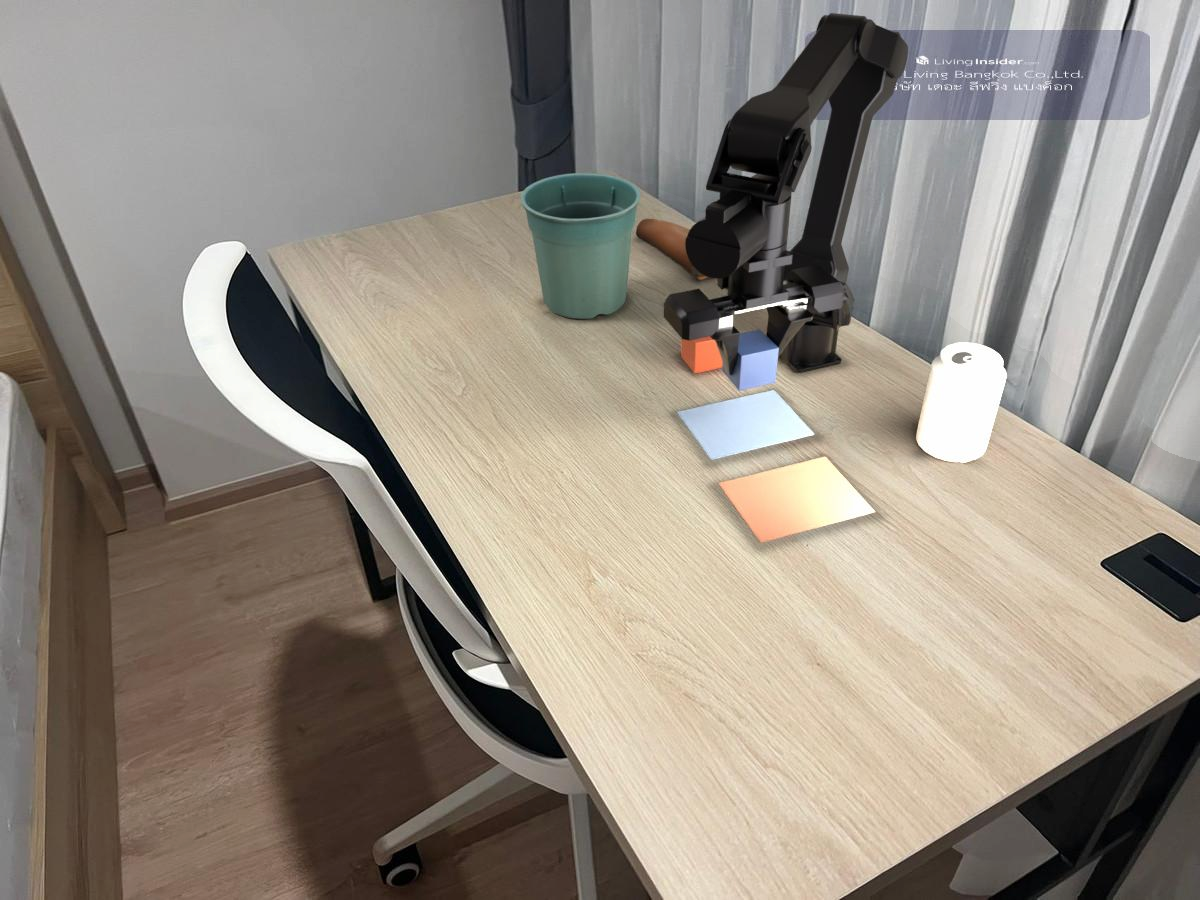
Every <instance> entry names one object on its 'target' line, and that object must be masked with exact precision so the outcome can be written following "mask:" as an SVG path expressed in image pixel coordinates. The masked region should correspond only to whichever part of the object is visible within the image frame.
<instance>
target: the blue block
mask: <svg viewBox="0 0 1200 900" xmlns="http://www.w3.org/2000/svg"><path fill="white" fill-rule="evenodd" d="M778 351H779V348H778V347H777V346H776V345H775V344H774V343H773V342H772V341H771V340H770V339H769V338H768V337H767V336H766V334H765V332H764V331H763V330H762V329H760V328H759V329H753V330H749V331H744V332H740V338H739V345H738V352H737V359H736V366H735V369H734V373H733V375H731V376H729V375H728V373H727V372H726V370H725V367H724V365H723V362H722V368H721V371H722V373H723V375H725V376H726V378H727V379H728V380H729V381H730V382H731V384H733V386H734V387H735V388H736V390H738V391H739V392H741V391H745V390H749V389H753V388H758V387H762V386H767V385H771V384H775V383H777V371H778V360H779V357H778Z"/></svg>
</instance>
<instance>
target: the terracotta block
mask: <svg viewBox="0 0 1200 900" xmlns="http://www.w3.org/2000/svg"><path fill="white" fill-rule="evenodd" d="M680 340H681V341H680V357H681V359H682V360H683V361H684V363H685V364H686V365H687V366H688V367H689V369H690V370H691V371H692V372H693V373H694V374H700V373H705V372H708V371H712V370H713V371H714V370H719V369H722V359H721V356H720V353H719V350H718V347H717V344H716V342H715V340H713V339H712V338H711V337H710V336H708V337H704V338H699V339H694V340H684V339H682V338H681V337H680Z"/></svg>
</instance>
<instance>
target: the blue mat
mask: <svg viewBox="0 0 1200 900" xmlns="http://www.w3.org/2000/svg"><path fill="white" fill-rule="evenodd" d="M676 414H677V415H678V416H679V418H680V419H681V420H682V422H683V423H684V425H685V426H686V427H687V429H688V430H689V431H690V433H691V435H692V436H693V437H694V439H695V440H696V441H697V442H698V444H699V446H701V448H702V450H703V451H704V452H705V454H706V455H707V456H708V458H709V459H710V460H711V461H712V460H716V459H721V458H725V457H729V456H733V455H736V454H740V453H741V454H742V453H745V452H750V451H752V450H757V449H761V448H765V447H770V446H773V445H778V444H782V443H785V442H786V443H787V442H790V441H795V440H798V439H802V438H806V437H807V438H808V437H811V436H814V435H816V434H815V433H814V431H813V430H812V429H811V428H810V426H808V425H807V424H806V423H805V422H804V420H803V419H802V418H801V417H800V416H799V415H798V414H797V412H795V411H794V410H793V409H792V407H791V406H790V405H789V404H788V403H787V402H786V401H785V399H783V397H782V396H781V395H780V394H779V393H778V392H777V391H776V390H775V389H770V390H767V391H761V392H758V393H757V392H756V393H755V394H754V393H753V394H749V395H744V396H740V397H736V398H731V399H727V400H723V401H718V402H714V403H708V404H704V405H701V406H696V407H691V408H687V409H682V410H677V411H676Z"/></svg>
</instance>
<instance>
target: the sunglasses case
mask: <svg viewBox="0 0 1200 900" xmlns="http://www.w3.org/2000/svg"><path fill="white" fill-rule="evenodd" d="M690 229H691V228H687V227H684V226H682V225H679V224H677V223H674V222H672V221H667V220H662V219H657V218H644V219H642V220H641V221H640V222H639V223H638V224H637V225H636V229H635V236H636V237H637V238H638V239H640V240H642V241H643V242H645V243H646V244H648V245H650V246H651V247H654V248H655V249H657V251H659V252H661V253H662V254H663V255H665V256H666V257H668V258H669V259H670V260H672V261H673V262H674V263H676V264H677V265H679V266H680V267H681V268H683V270H685V271H686V272H688V273H689V274H691V275H692V276H694V277H695V278H696V279H697V280H698V281H704V280H708V278H707V276H705V275H703V274H702V275H700V274H695V273H693V271H692V269H691V262H690V260H689V259H688V256H687V253H686V247H685V240H686V238H687V235H688V233H689V230H690Z"/></svg>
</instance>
